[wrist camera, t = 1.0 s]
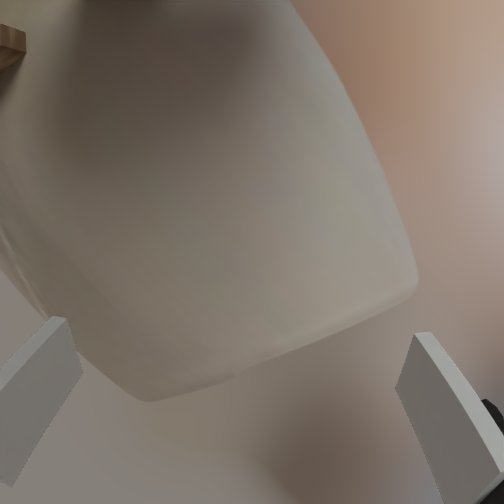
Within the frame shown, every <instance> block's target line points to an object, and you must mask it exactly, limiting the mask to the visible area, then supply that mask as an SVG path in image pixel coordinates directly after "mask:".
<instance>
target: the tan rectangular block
mask: <svg viewBox="0 0 504 504" xmlns="http://www.w3.org/2000/svg"><path fill="white" fill-rule="evenodd" d="M25 53H26V34H25V32H23V31H20V30H17V29H14V28H12V27H9V26H6V25H3V24H0V74H1V73H2V72H3V71H4V70H5V69H7V68H8V67H9V66H10V65H11V64H13V63H14V62H15V61H16V60H18V59H19V58H20V57H22V56H23V55H24V54H25Z"/></svg>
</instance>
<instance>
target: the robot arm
mask: <svg viewBox="0 0 504 504" xmlns="http://www.w3.org/2000/svg"><path fill="white" fill-rule="evenodd" d="M82 374H83V369H82V366H81V363H80V360H79V357H78V354H77V351H76V348H75V344H74V341H73V338H72V334H71V331H70V327H69V323H68V319H67V318H63V317H57V316H52V317H51V318H50V319H49V320H48V321H47V322H46V323H45V324H44V325H43V326H42V327H41V328H40V329H39V330H38V331H37V332H36V333H35V334H34V335H33V336H32V337H31V338H30V339H28V340H27V342H26V343H25V344H24V345H23V346H22V347H21V348H20V349H19V350H18V351H17V352H16V353H15V354H14V355H13V356H12V357H11V358H10V359H9V360H8V361H7V362H6V363H5V364H4V365H3V366H2V367H1V369H0V481H1V482H2V483H4V484H6V485H7V486H9V487H11V488H12V487H13V485H14V483H15V482H16V480H17V478H18V476H19V475H20V473H21V471H22V469H23V468H24V466H25V464H26V462H27V461H28V459H29V457H30V455H31V454H32V452H33V450H34V449H35V447H36V445H37V444H38V442H39V441H40V439H41V437H42V436H43V434H44V432H45V430H46V429H47V428H48V426H49V424H50V423H51V421H52V420H53V418H54V417H55V415H56V413H57V412H58V410H59V409H60V407H61V406H62V404H63V402H64V401H65V400H66V398H67V397H68V395H69V393H70V392H71V390H72V389H73V387H74V386H75V384H76V383H77V382H78V380H79V379H80V377H81V376H82ZM395 389H396V391H397V393H398V395H399V397H400V400H401V402H402V404H403V406H404V408H405V411H406V413H407V415H408V417H409V419H410V421H411V424H412V426H413V428H414V430H415V433H416V435H417V437H418V440H419V442H420V445H421V447H422V449H423V451H424V454H425V456H426V459H427V461H428V464H429V466H430V469H431V471H432V473H433V476H434V478H435V481H436V484H437V486H438V489H439V492H440V494H441V497H442V499H443V502H444V504H504V419H503V416H502V414H501V413H500V412H499V410H498V409H497V407H496V406H494V405H493V404H492V403H491V402H489V401H488V400H487V399H484V400H480V399H479V397H478V396H477V394H476V393H475V392H474V390H473V389H472V387H471V386H470V384H469V383H468V381H467V380H466V379H465V377H464V376H463V375H462V373H461V372H460V370H459V369H458V368H457V366H456V365H455V364H454V362H453V361H452V360H451V358H450V357H449V356H448V354H447V353H446V352H445V350H444V349H443V348H442V346H441V345H440V344H439V343H438V341H437V340H436V339H435V337H434V336H433V335H432V333H431V332H426V333H414V335H413V338H412V342H411V345H410V348H409V351H408V354H407V357H406V360H405V363H404V365H403V368H402V371H401V374H400V376H399V379H398V383H397V384H396V387H395Z"/></svg>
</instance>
